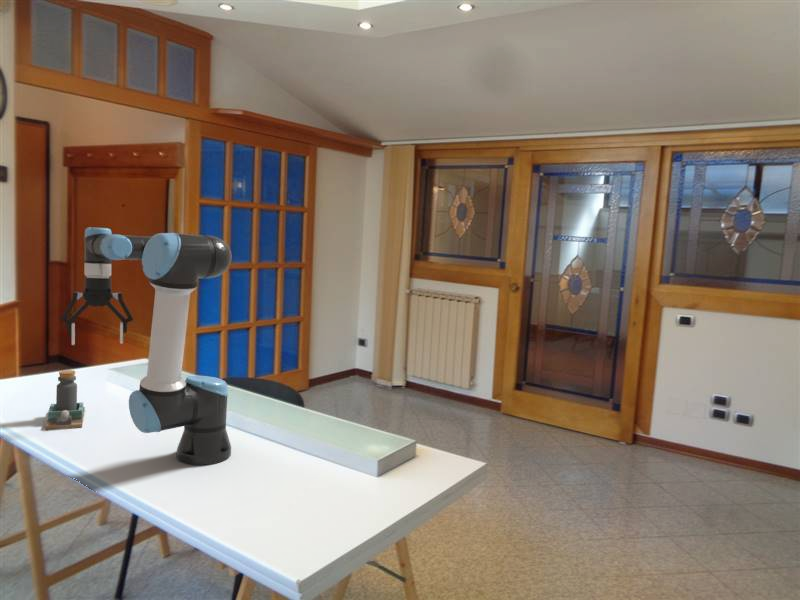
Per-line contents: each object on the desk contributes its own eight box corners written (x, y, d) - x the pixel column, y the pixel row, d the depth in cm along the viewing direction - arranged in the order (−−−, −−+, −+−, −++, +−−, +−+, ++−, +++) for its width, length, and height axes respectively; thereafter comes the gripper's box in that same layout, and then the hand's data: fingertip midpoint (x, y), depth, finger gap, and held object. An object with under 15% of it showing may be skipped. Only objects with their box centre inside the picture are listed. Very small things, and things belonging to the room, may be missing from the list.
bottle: (80, 414, 195) (81, 370, 194) (68, 419, 189) (69, 374, 188) (64, 412, 196) (64, 368, 194) (51, 417, 190) (52, 372, 188)
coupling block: (81, 427, 186) (82, 413, 186) (45, 430, 182) (45, 415, 181) (84, 410, 203) (84, 396, 203) (51, 412, 199) (51, 398, 198)
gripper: (140, 277, 193) (139, 340, 194) (52, 275, 181) (53, 342, 183) (141, 278, 186) (141, 344, 188) (51, 276, 175) (51, 346, 176)
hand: (97, 343), depth 185 cm, fingers open, 13 cm apart
